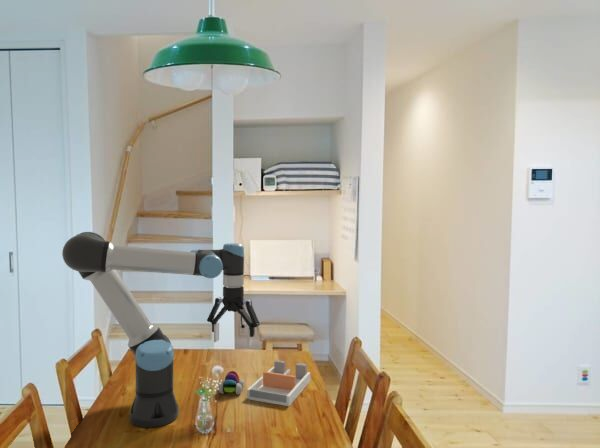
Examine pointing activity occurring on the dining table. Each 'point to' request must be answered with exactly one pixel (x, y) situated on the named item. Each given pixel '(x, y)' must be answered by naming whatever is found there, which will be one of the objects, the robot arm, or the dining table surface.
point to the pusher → (279, 380)
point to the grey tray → (278, 394)
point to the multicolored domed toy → (231, 383)
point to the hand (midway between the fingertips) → (232, 343)
